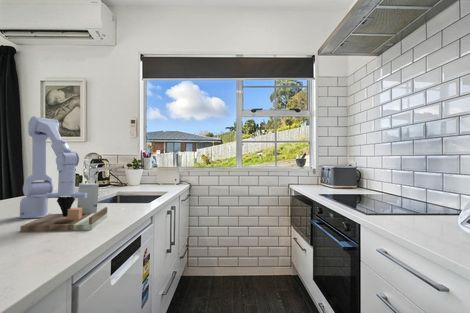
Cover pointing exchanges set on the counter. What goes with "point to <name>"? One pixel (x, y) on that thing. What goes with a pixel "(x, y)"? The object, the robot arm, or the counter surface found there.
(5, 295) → the counter surface
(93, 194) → the skincare box
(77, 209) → the terracotta block
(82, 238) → the counter surface
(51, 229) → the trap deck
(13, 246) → the counter surface
